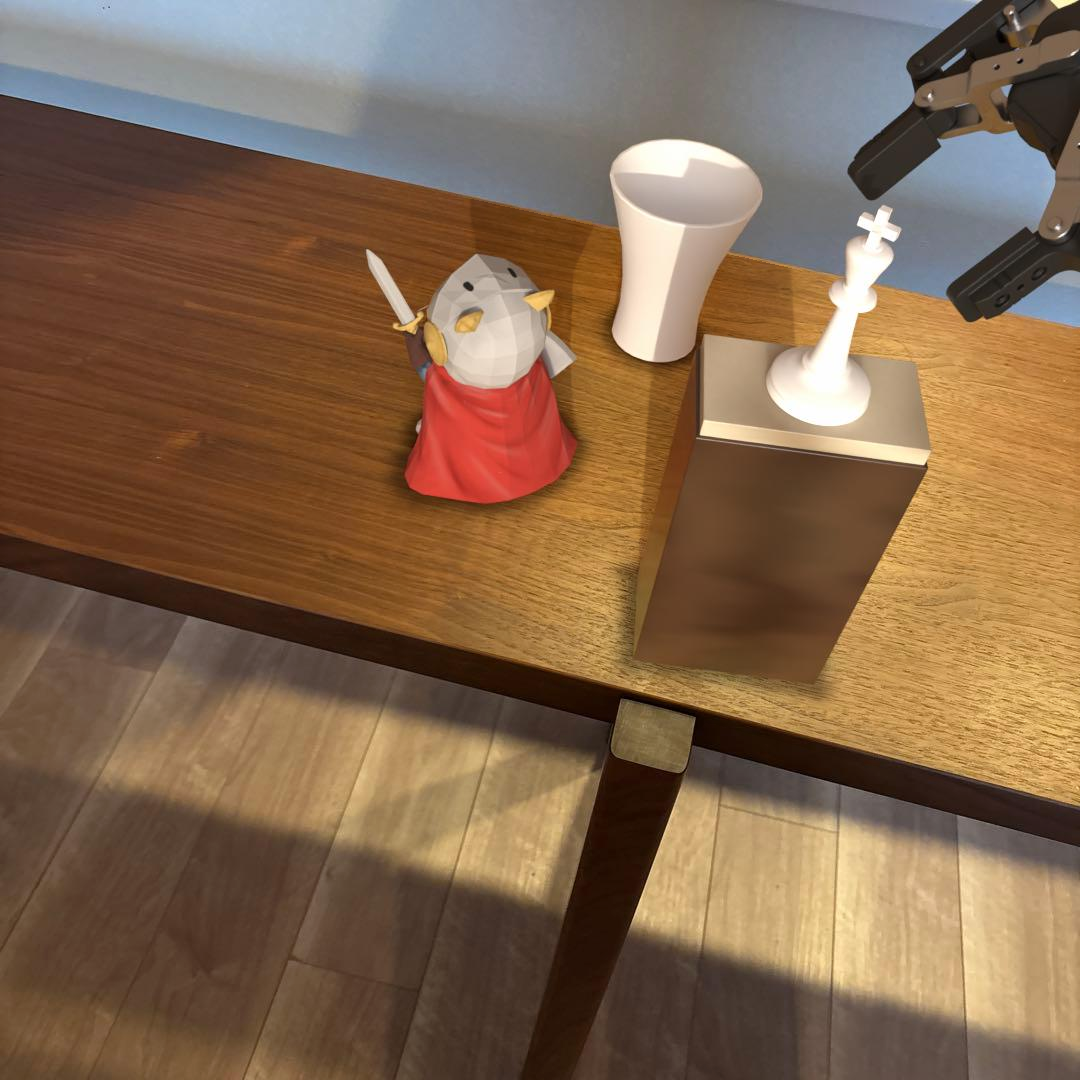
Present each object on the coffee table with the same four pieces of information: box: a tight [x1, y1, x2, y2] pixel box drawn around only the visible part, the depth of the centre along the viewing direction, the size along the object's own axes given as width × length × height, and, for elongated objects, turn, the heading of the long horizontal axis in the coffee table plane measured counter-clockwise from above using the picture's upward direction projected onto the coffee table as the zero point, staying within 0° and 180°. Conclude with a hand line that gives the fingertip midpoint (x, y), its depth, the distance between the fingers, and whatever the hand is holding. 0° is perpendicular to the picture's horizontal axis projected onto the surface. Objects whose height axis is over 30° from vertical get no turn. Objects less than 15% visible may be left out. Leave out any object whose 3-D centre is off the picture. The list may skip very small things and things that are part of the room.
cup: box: [609, 138, 764, 363], centre depth 80 cm, size 10×10×14 cm
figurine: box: [365, 248, 579, 505], centre depth 71 cm, size 13×11×15 cm
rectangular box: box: [632, 333, 932, 685], centre depth 60 cm, size 11×6×20 cm, turn 84°
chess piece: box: [766, 204, 903, 426], centre depth 49 cm, size 5×5×10 cm
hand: (904, 244), depth 47 cm, fingers open, 8 cm apart
